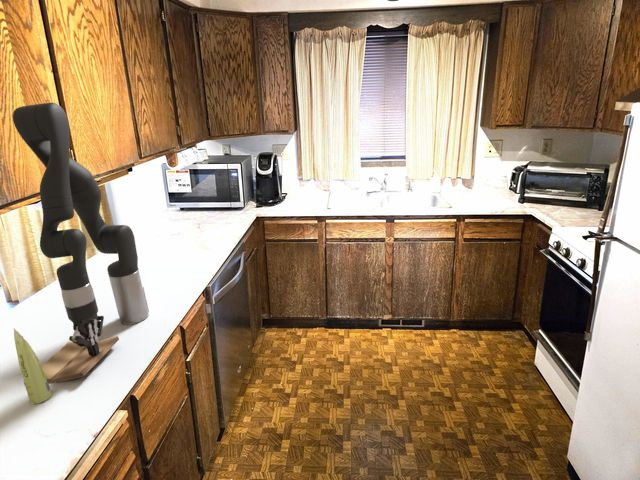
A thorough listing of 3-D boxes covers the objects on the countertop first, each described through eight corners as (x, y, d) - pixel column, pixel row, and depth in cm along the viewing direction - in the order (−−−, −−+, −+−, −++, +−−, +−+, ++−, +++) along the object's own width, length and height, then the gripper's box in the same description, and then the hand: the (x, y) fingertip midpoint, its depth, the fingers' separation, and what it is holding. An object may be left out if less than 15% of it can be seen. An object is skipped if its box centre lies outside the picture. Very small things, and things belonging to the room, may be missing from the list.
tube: (23, 405, 112) (-1, 338, 106) (35, 392, 117) (13, 327, 111) (45, 403, 112) (22, 336, 106) (56, 390, 117) (35, 325, 110)
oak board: (69, 345, 138) (68, 342, 138) (92, 345, 137) (91, 342, 137) (28, 382, 121) (26, 378, 121) (53, 382, 120) (52, 378, 120)
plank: (94, 345, 137) (92, 342, 137) (119, 339, 135) (117, 336, 135) (55, 382, 120) (53, 378, 120) (83, 376, 119) (81, 372, 118)
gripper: (81, 290, 128) (96, 342, 133) (50, 311, 116) (67, 368, 121) (106, 289, 127) (119, 342, 133) (77, 311, 115) (93, 368, 120)
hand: (94, 354), depth 127 cm, fingers closed
